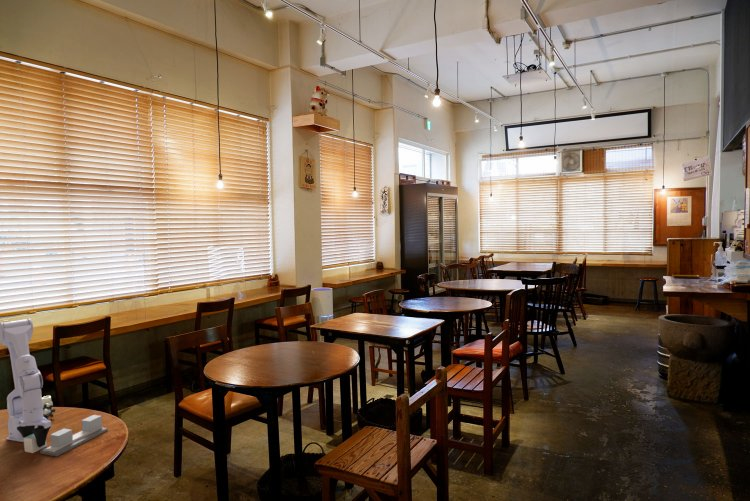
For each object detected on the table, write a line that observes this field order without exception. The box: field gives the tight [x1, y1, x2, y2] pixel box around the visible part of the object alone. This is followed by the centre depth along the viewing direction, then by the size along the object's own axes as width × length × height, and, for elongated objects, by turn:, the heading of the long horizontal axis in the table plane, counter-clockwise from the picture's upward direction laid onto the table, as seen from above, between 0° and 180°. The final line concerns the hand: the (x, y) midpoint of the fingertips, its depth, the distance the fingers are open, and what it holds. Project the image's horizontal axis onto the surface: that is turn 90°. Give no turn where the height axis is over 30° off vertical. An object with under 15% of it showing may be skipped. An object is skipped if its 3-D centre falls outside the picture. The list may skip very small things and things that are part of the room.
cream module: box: [23, 434, 48, 454], centre depth 164 cm, size 4×5×5 cm
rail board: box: [39, 414, 108, 457], centre depth 169 cm, size 8×20×6 cm, turn 161°
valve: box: [42, 395, 56, 420], centre depth 194 cm, size 7×7×12 cm
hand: (35, 444), depth 165 cm, fingers open, 5 cm apart
